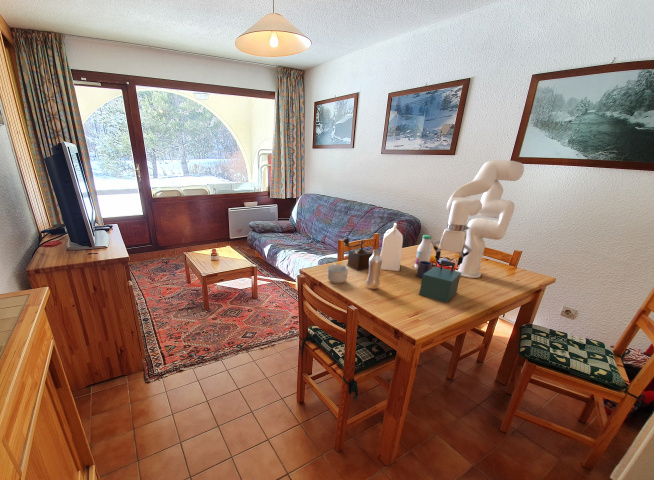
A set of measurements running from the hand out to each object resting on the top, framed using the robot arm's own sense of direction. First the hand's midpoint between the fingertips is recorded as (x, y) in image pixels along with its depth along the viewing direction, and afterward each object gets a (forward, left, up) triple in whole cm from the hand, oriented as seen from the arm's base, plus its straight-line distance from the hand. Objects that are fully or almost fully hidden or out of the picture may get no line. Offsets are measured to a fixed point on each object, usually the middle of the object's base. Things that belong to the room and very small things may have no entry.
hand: (447, 262), depth 149 cm
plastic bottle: (+28, -21, -15) cm, 37 cm away
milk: (-5, -38, -15) cm, 41 cm away
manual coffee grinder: (+13, -47, -15) cm, 51 cm away
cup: (-8, -17, -15) cm, 24 cm away
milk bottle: (-19, -26, -15) cm, 35 cm away
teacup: (+37, -38, -15) cm, 54 cm away
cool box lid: (+5, +1, -5) cm, 7 cm away
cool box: (+6, +1, -15) cm, 16 cm away
